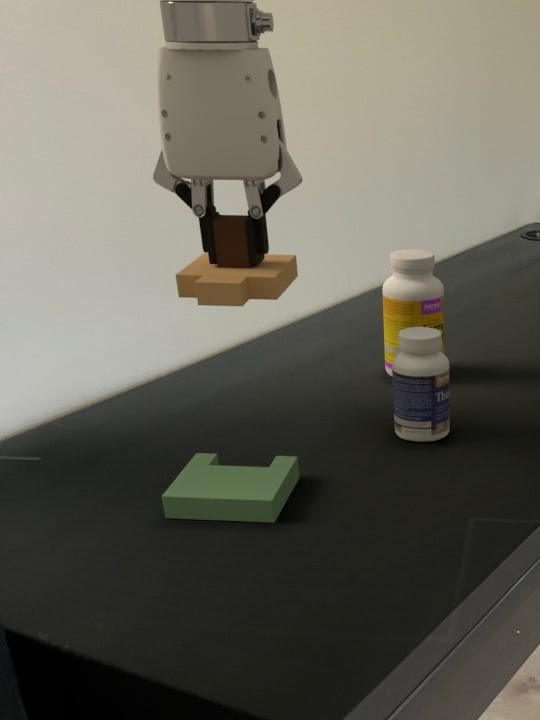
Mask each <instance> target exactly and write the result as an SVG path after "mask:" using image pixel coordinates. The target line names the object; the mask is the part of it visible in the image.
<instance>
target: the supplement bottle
mask: <svg viewBox="0 0 540 720" xmlns="http://www.w3.org/2000/svg"><path fill="white" fill-rule="evenodd" d="M435 257H436V256H435V253H434V252H432V251H429V250H425V249H417V248H416V249H415V248H414V249H413V248H411V249H410V248H408V249H399V250H395V251H392V252H391V253H390V266H391V269H392V275H391V276H389V277H388V278H387V279H386V280H385V281H384V283H383V284H382V313H383V316H382V317H383V340H384V341H383V343H384V345H383V346H384V367H385V371H386V373H387V375H389V376H390V377H392V376H393V375H392V362H393V359H394V358H395V356H396V355H398V354H399V353H401V352H402V351H401V350H400V349H399V346H398V334H399V331H401V330H403V329H406V328H411V327H428V328H434V329H437V330H439V331H440V332H441V335H442V348H441V349H440V350H439V352H441V353H443V354H444V355H445V287H444V284H443V283H442V281H441V280H440V279H439V278H438V277H436V276H434V271H433V270H434V268H435V266H436V263H435V262H436V259H435Z"/></svg>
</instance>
